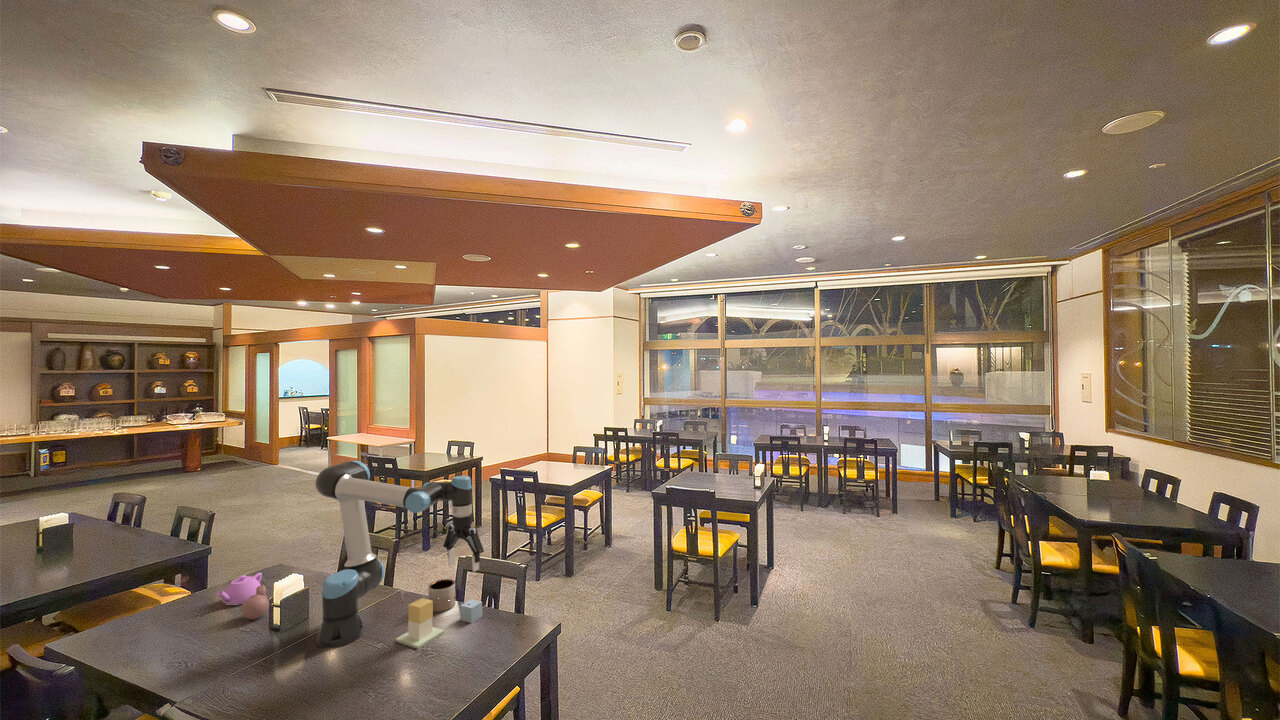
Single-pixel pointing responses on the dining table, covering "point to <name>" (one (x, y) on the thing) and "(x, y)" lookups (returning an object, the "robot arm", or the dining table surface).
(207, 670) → the dining table surface
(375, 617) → the dining table surface
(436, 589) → the planter
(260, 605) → the figurine
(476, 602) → the blue brick
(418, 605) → the ochre brick
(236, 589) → the teapot
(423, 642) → the baseplate
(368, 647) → the dining table surface
